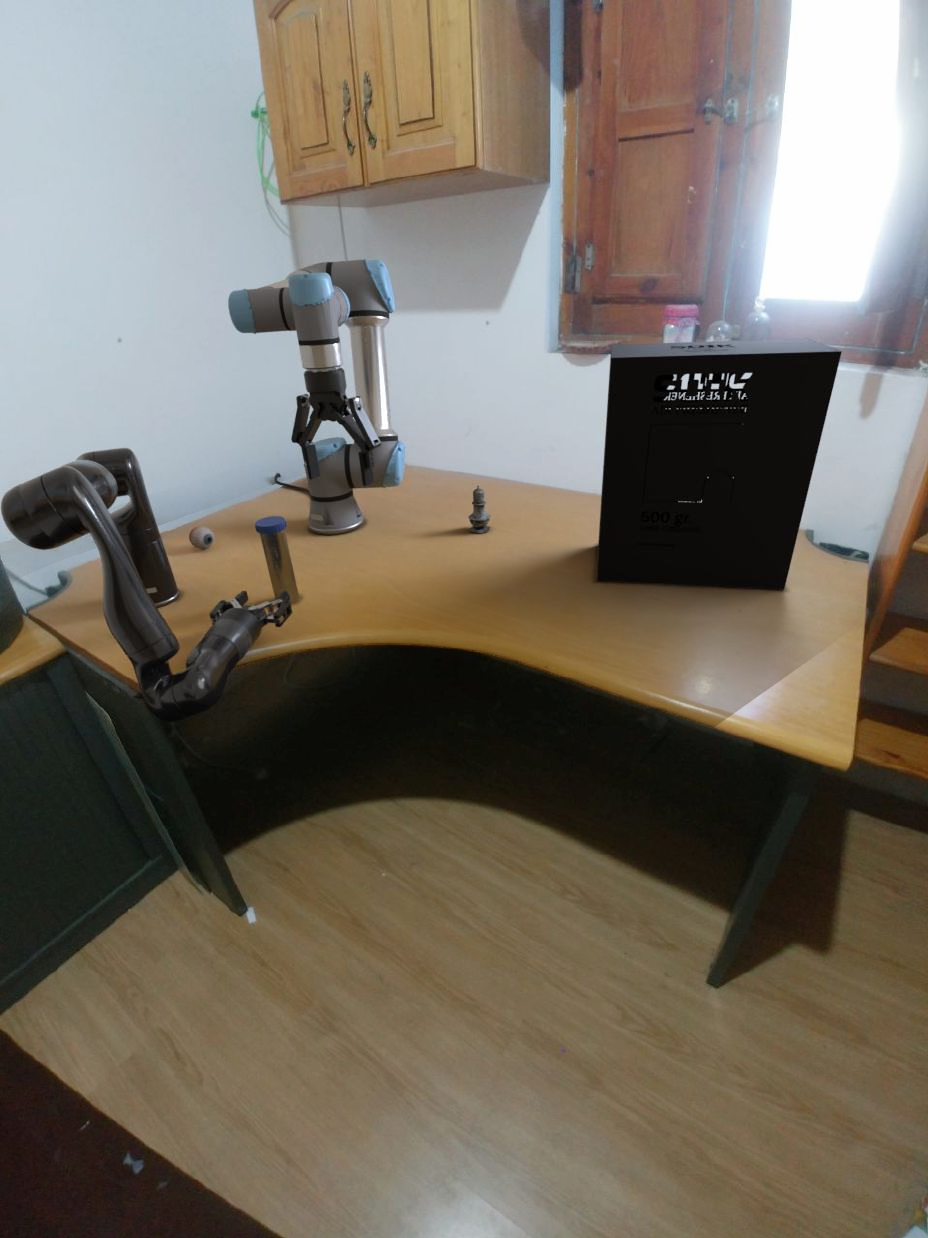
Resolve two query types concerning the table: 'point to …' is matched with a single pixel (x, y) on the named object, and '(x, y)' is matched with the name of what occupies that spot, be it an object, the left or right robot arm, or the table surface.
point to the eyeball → (201, 537)
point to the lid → (270, 524)
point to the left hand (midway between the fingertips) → (265, 594)
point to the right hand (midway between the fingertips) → (341, 480)
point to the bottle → (280, 564)
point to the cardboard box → (710, 460)
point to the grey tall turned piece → (479, 513)
